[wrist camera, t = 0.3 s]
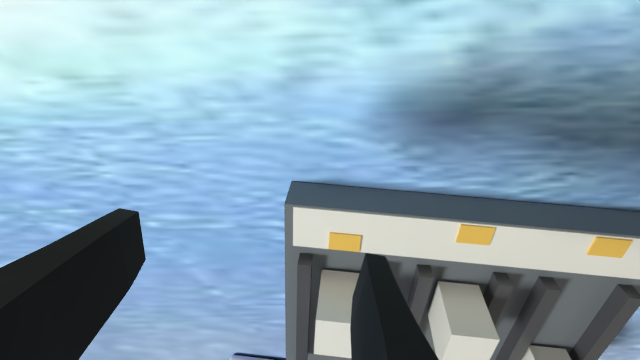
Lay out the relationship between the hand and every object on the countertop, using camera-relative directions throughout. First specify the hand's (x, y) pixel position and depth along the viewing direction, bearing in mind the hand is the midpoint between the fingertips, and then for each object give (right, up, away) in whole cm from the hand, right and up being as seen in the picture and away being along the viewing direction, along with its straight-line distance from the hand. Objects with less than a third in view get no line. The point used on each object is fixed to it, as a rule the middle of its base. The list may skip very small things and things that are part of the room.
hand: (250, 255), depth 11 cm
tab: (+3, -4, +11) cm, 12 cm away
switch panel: (+11, -5, +14) cm, 18 cm away
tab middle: (+10, -5, +11) cm, 16 cm away
